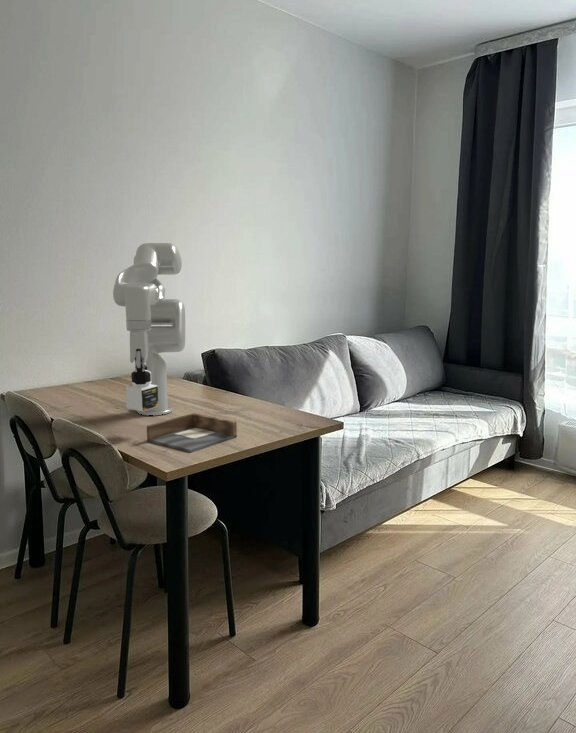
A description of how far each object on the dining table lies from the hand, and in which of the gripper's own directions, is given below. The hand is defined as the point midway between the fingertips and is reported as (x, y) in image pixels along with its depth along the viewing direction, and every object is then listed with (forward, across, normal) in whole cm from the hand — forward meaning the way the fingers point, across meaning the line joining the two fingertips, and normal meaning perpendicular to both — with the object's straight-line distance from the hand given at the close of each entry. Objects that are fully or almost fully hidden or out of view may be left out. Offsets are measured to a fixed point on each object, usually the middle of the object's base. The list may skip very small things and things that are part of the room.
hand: (141, 381), depth 198 cm
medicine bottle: (+9, 0, 0) cm, 9 cm away
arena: (+17, +8, +16) cm, 25 cm away
